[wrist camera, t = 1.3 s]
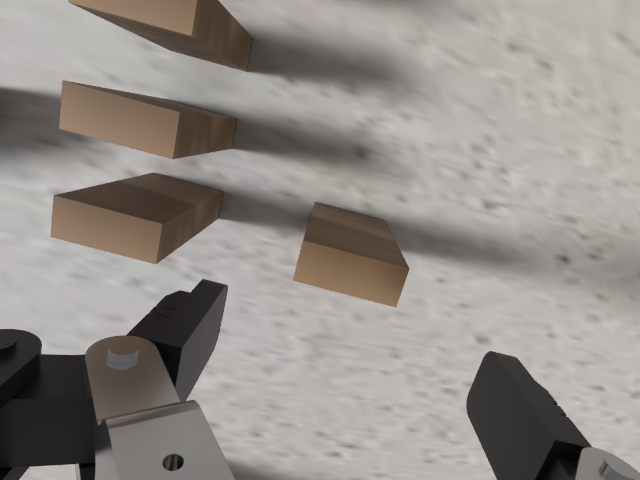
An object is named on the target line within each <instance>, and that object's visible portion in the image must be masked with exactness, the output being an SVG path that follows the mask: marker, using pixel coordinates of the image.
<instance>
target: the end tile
mask: <svg viewBox="0 0 640 480" xmlns="http://www.w3.org/2000/svg"><path fill="white" fill-rule="evenodd" d="M408 271H409V267H408V265H407V263H406V261H405V259H404V257H403V255H402V253H401V251H400V249H399V247H398V246H397V244H396V242H395V240H394V238H393V236H392V234H391V232H390V230H389V228H388V226H387V224H386V223H385V221H384V220H381V219H377V218H373V217H369V216H366V215H362V214H358V213H354V212H351V211H347V210H343V209H339V208H336V207H332V206H328V205H324V204H321V203H317V202H315V204H314V207H313V211H312V214H311V217H310V220H309V224H308V227H307V230H306V233H305V236H304V240H303V243H302V247H301V251H300V255H299V259H298V262H297V266H296V270H295V274H294V278H293V281H297V282H301V283H305V284H308V285H312V286H316V287H320V288H324V289H328V290H331V291H335V292H339V293H343V294H347V295H351V296H354V297H358V298H362V299H366V300H370V301H374V302H377V303H381V304H385V305H389V306H393V307H396V306H397V303H398V300H399V297H400V295H401V292H402V289H403V286H404V283H405V280H406V277H407V274H408Z"/></svg>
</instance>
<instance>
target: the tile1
mask: <svg viewBox="0 0 640 480" xmlns="http://www.w3.org/2000/svg"><path fill="white" fill-rule="evenodd" d="M222 196H223V191H220V190H216V189H212V188H209V187H205V186H201V185H197V184H194V183H190V182H186V181H182V180H179V179H175V178H171V177H167V176H164V175H160V174H156V173H150V174H145V175H141V176H137V177H132V178H128V179H124V180H119V181H115V182H110V183H106V184H102V185H97V186H93V187H89V188H84V189H80V190H75V191H71V192H67V193H62V194H58V195H54V199H53V212H52V225H51V237H53V238H57V239H61V240H65V241H69V242H72V243H76V244H80V245H84V246H88V247H92V248H96V249H99V250H103V251H107V252H111V253H115V254H119V255H122V256H126V257H130V258H134V259H138V260H142V261H146V262H149V263H153V264H157V263H158V262H160V261H161V260H162V259H164V258H165V257H166V256H168V255H169V254H171V253H172V252H173V251H175V250H176V249H177V248H179V247H180V246H181V245H183V244H184V243H186V242H187V241H188V240H190V239H191V238H192V237H194V236H195V235H196V234H198V233H199V232H201V231H202V230H203V229H205V228H206V227H207V226H209V225H210V224H211V223H213V222H214V221H215V220H217V219H218V217H219V212H220V206H221V201H222Z"/></svg>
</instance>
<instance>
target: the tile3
mask: <svg viewBox="0 0 640 480" xmlns="http://www.w3.org/2000/svg"><path fill="white" fill-rule="evenodd" d="M68 2H69V3H71V4H74V5H76V6H78V7H80V8H82V9H84V10H86V11H88V12H90V13H93V14H95V15H97V16H99V17H101V18H103V19H105V20H107V21H109V22H111V23H114V24H116V25H118V26H120V27H122V28H124V29H126V30H128V31H130V32H132V33H135V34H137V35H139V36H141V37H143V38H145V39H147V40H149V41H151V42H153V43H156V44H158V45H160V46H162V47H164V48H166V49H168V50H170V51H174V52H177V53H181V54H185V55H188V56H192V57H196V58H199V59H203V60H206V61H210V62H214V63H217V64H221V65H225V66H228V67H232V68H236V69H239V70H243V71H246V72H247V67H248V62H249V57H250V52H251V46H252V41H253V38H252V37H251V36H250V34H249V33H248V32H247V31H246V30H245V29H244V28H243V27H242V26H241V25H240V24H239V23H238V21H237V20H236V19H235V18H234V17H233V16H232V15H231V14H230V13H229V12H228V11H227V10H226V8H225V7H224V6H223V5H222V4H221V3H220V2H219V1H218V0H69V1H68Z"/></svg>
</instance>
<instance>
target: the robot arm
mask: <svg viewBox="0 0 640 480" xmlns="http://www.w3.org/2000/svg"><path fill="white" fill-rule="evenodd" d="M227 291H228V286H227V285H225V284H221V283H217V282H213V281H209V280H205V279H202V280H201V281H200V283H199V284H198V285H197V286H196V287H195V288H194V289H193V290H192V292H191V293H189V292H185V291H181V290H180V291H177V292H175V293H172V294H170V295H167V296H165V297H164V298H163V299H162V300H161V301H160V302H159V303H158V304H157V306H155V307H154V308H153V309H152V310H151V311H150V313H149V314H147V315H146V316H145V317H144V318H143V319H142V320H141V321H140V322H139V323H138V324H137V325H136V326H135V327H134V328H133V329H132V330H131V331H130V332H129V333H128V334H127V335H126V336H114V337H109V338H105V339H102V340H100V341H98V342H96V343H94V344H93V345H92V346H91V347H89V348H88V350H87V352H86V354H85V355H46V354H41V348H42V344H41V340H40V339H39V338H38V337H37V336H36V335H34V334H32V333H30V332H27V331H23V330H16V329H0V480H19V479H20V478H21V476H22V475H23V474H24V473H25V471H26V470H27V469H28V468H29V466H47V465H65V464H75V472H76V480H235V478H234V476H233V474H232V472H231V470H230V468H229V466H228V464H227V462H226V459H225V457H224V455H223V453H222V451H221V449H220V447H219V445H218V443H217V441H216V439H215V437H214V435H213V433H212V430H211V428H210V426H209V424H208V422H207V420H206V418H205V416H204V414H203V412H202V410H201V408H200V406H199V404H198V403H197V402H196V401H195V400H191V401H186V400H187V398H188V396H189V394H190V393H191V391H192V389H193V387H194V385H195V383H196V382H197V380H198V378H199V376H200V374H201V373H202V371H203V369H204V367H205V365H206V363H207V362H208V360H209V358H210V356H211V354H212V352H213V350H214V348H215V345H216V342H217V339H218V336H219V331H220V326H221V321H222V317H223V312H224V307H225V302H226V297H227ZM467 413H468V417H469V419H470V421H471V423H472V425H473V428H474V430H475V432H476V434H477V436H478V439H479V441H480V443H481V445H482V447H483V450H484V452H485V454H486V456H487V458H488V460H489V463H490V465H491V467H492V469H493V471H494V474H495V476H496V478H497V480H640V473H639V472H638V471H637V470H635V469H634V468H633V467H632V466H630V465H629V464H628V463H626V462H625V461H623V460H621V459H620V458H618V457H616V456H615V455H613V454H611V453H608V452H606V451H604V450H601V449H597V448H593V447H592V446H591V445H590V444H589V442H588V441H587V440H586V439H585V437H584V436H583V435H582V434H581V432H580V431H579V430H578V429H577V427H576V426H575V425H574V424H573V422H572V421H571V420H570V419H569V417H566V414H565V412H564V411H563V410H562V409H561V407H560V406H557V402H556V401H555V400H554V399H553V397H552V396H551V395H550V394H549V392H548V391H547V390H546V389H545V388H543V387H542V386H541V385H540V384H538V383H537V382H536V381H535V380H534V379H533V378H532V376H531V375H530V374H529V372H528V371H527V370H526V369H525V367H524V366H523V365H522V364H521V362H520V361H519V360H518V359H517V358H516V357H513V356H509V355H505V354H501V353H497V352H493V351H490V352H488V353H487V354H486V355H485V356H484V358H483V360H482V363H481V365H480V367H479V370H478V372H477V374H476V377H475V379H474V382H473V384H472V386H471V389H470V391H469V394H468V397H467Z"/></svg>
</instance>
